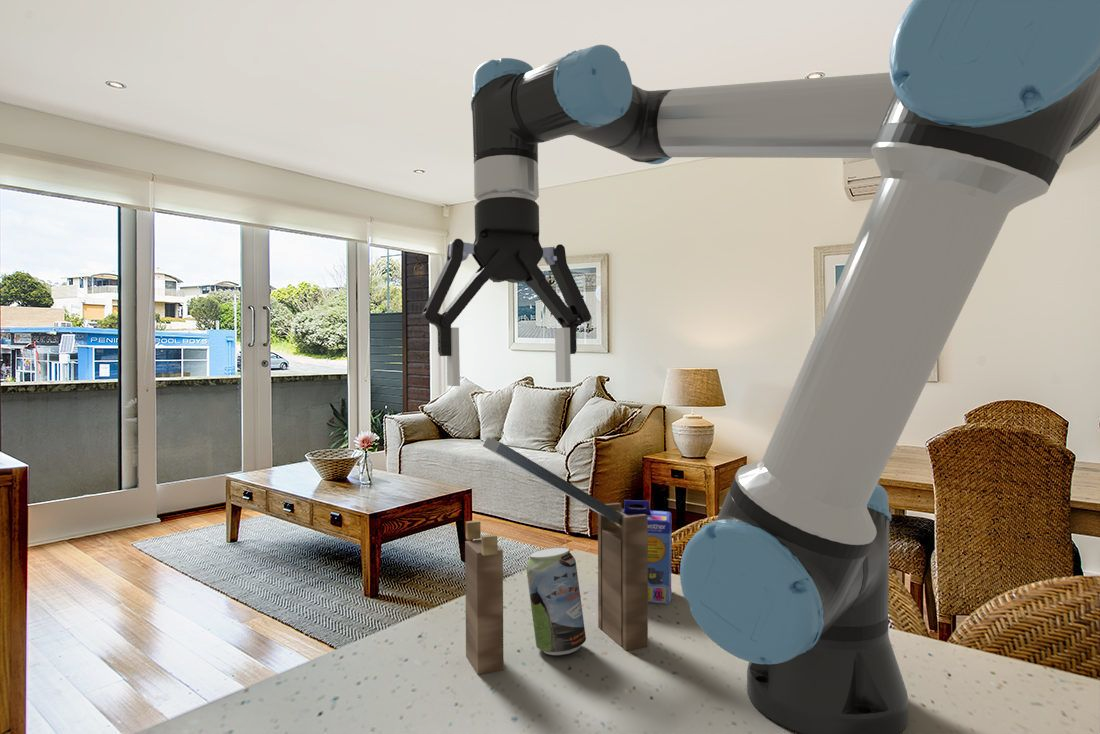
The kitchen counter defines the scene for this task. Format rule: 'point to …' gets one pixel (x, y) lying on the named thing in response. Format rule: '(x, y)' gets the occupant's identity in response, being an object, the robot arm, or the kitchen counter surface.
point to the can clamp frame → (616, 589)
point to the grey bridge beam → (554, 481)
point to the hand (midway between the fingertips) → (510, 384)
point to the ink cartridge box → (656, 550)
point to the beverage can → (555, 601)
